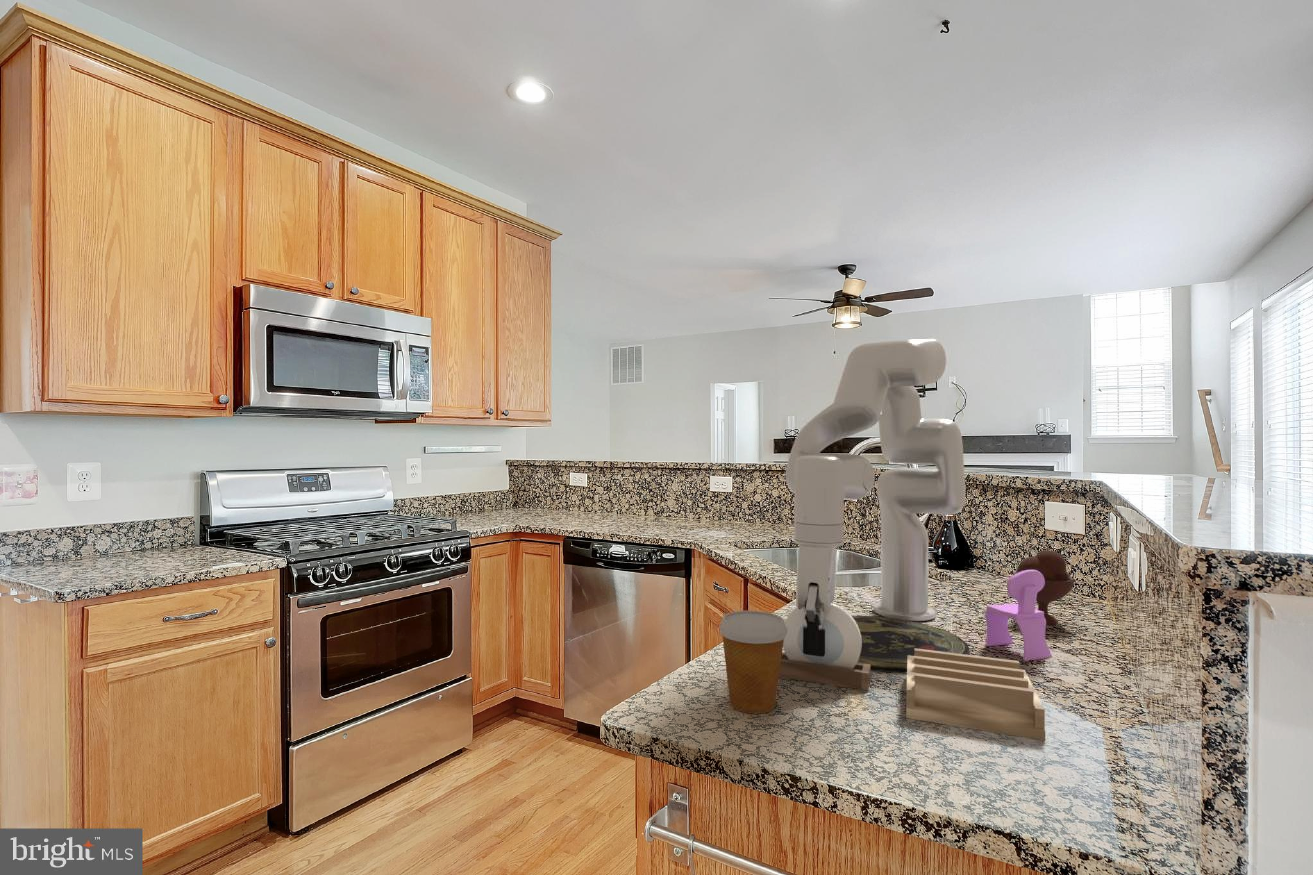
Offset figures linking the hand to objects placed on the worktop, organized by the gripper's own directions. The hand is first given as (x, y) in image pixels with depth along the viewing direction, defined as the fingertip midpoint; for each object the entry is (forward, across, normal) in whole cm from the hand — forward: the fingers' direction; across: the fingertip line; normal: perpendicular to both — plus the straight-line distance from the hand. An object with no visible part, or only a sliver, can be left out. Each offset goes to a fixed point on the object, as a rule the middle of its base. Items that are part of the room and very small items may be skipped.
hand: (817, 646), depth 98 cm
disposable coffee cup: (+5, +14, -7) cm, 16 cm away
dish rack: (+5, +2, +21) cm, 22 cm away
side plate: (-1, 0, 0) cm, 1 cm away
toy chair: (+5, -28, +31) cm, 42 cm away
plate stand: (+5, 0, 0) cm, 5 cm away
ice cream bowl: (+5, -52, +39) cm, 65 cm away
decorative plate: (+5, -22, +8) cm, 24 cm away
